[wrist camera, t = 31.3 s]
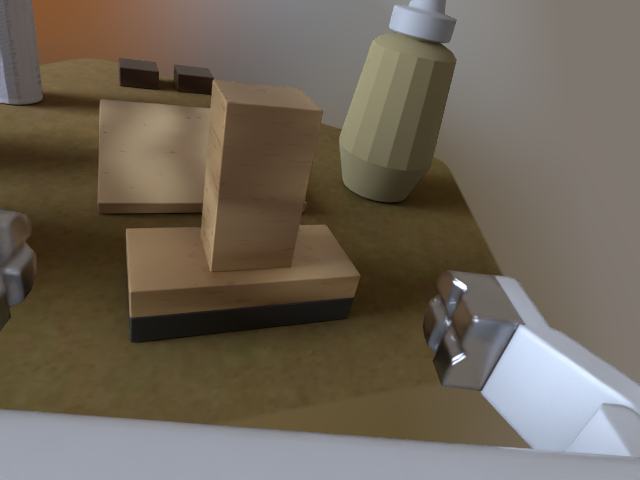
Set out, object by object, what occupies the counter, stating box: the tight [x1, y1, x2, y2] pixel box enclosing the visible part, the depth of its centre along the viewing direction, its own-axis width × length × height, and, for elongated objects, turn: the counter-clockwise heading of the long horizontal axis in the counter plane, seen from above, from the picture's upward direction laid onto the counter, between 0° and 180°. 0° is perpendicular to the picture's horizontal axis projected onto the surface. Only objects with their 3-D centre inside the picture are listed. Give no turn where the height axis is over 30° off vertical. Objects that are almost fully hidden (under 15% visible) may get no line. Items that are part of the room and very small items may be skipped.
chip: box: [119, 58, 159, 89], centre depth 52 cm, size 4×4×2 cm
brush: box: [126, 80, 360, 342], centre depth 22 cm, size 11×5×11 cm, turn 111°
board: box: [98, 99, 307, 214], centre depth 39 cm, size 14×20×1 cm
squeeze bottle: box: [339, 0, 456, 202], centre depth 36 cm, size 8×8×18 cm
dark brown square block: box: [174, 65, 214, 95], centre depth 55 cm, size 4×4×2 cm
